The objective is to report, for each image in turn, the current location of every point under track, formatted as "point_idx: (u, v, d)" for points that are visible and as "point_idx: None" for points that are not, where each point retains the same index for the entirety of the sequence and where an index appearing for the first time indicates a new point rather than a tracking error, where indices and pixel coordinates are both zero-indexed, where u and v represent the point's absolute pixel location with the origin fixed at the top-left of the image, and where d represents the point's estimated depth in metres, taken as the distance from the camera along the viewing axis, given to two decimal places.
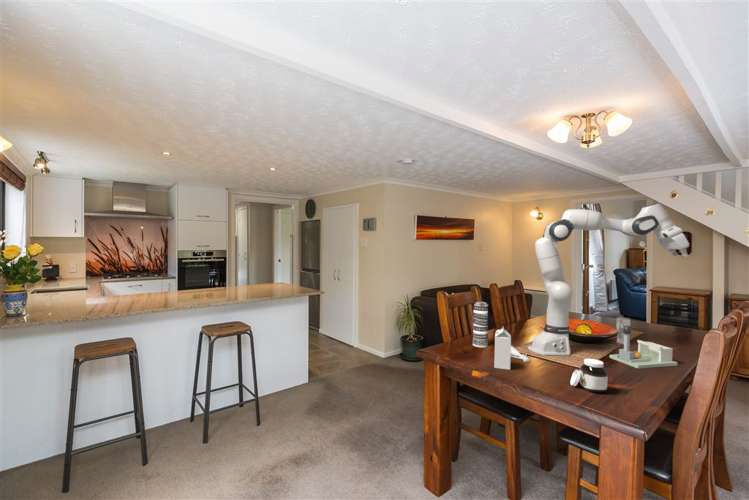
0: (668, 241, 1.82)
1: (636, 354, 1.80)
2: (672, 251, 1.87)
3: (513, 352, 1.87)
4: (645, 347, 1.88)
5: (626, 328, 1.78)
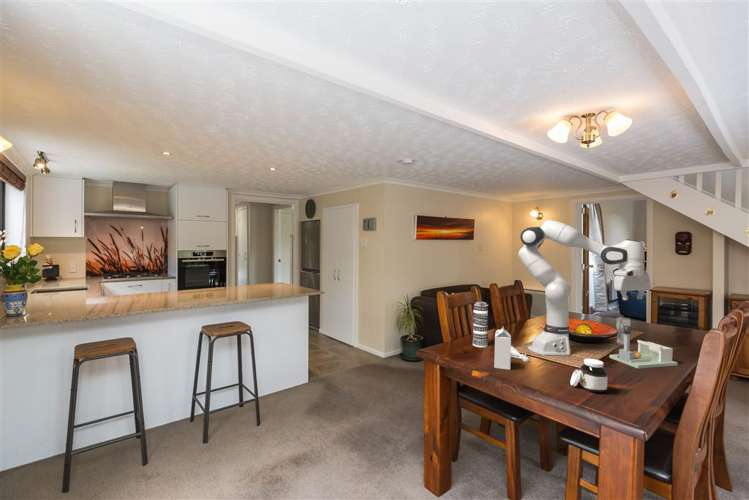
0: None
1: (636, 354, 1.80)
2: (639, 294, 1.80)
3: (513, 352, 1.87)
4: (645, 347, 1.88)
5: (626, 328, 1.78)
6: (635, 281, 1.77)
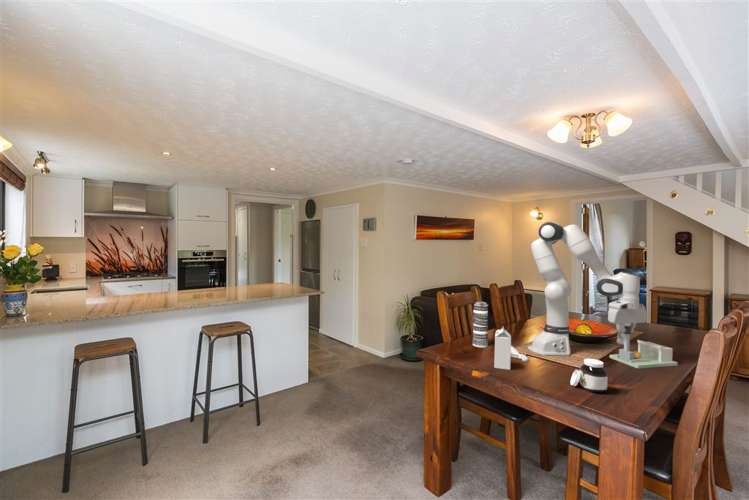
0: None
1: (636, 354, 1.80)
2: (631, 326, 1.80)
3: (512, 351, 1.88)
4: (645, 347, 1.88)
5: (626, 328, 1.78)
6: (630, 314, 1.78)
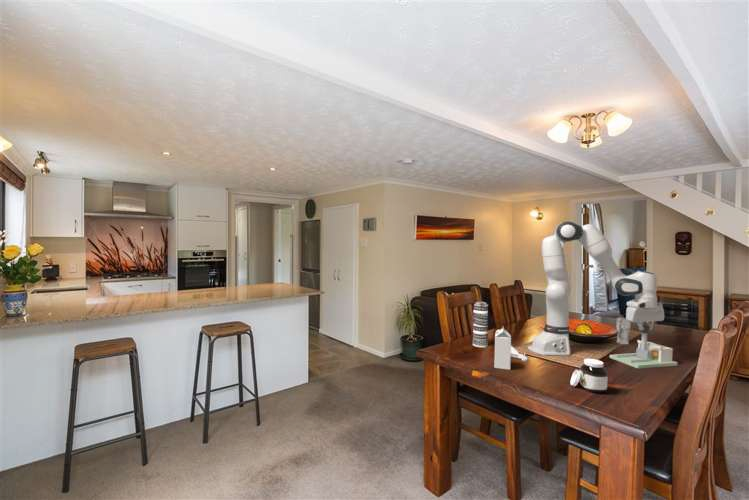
0: None
1: (654, 354, 1.82)
2: (649, 324, 1.82)
3: (512, 351, 1.88)
4: None
5: (644, 327, 1.81)
6: (648, 312, 1.80)
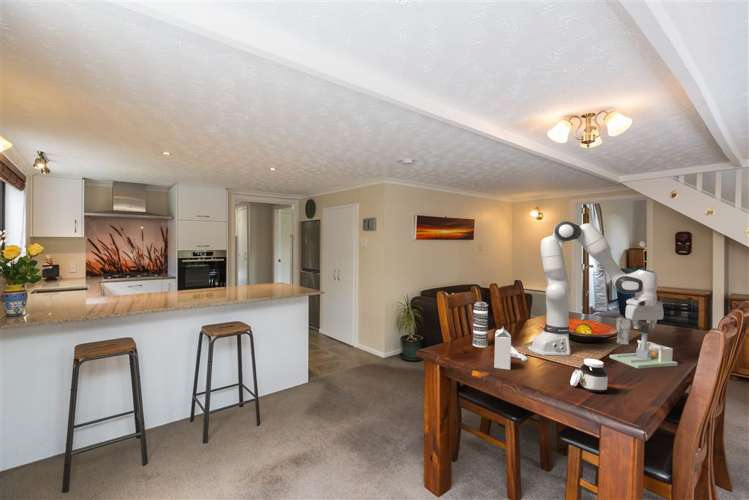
0: None
1: (652, 357, 1.82)
2: (652, 323, 1.83)
3: (512, 351, 1.88)
4: None
5: (644, 327, 1.81)
6: (647, 311, 1.80)
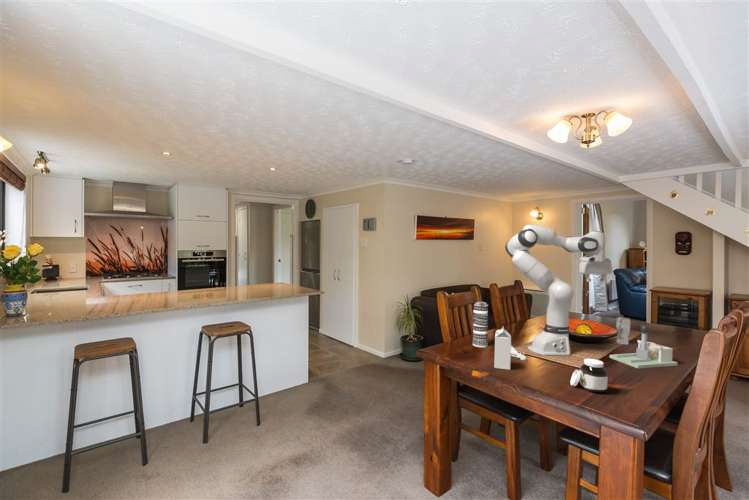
0: None
1: (652, 357, 1.82)
2: (602, 277, 2.14)
3: (511, 351, 1.89)
4: None
5: (644, 327, 1.81)
6: (597, 266, 2.11)
